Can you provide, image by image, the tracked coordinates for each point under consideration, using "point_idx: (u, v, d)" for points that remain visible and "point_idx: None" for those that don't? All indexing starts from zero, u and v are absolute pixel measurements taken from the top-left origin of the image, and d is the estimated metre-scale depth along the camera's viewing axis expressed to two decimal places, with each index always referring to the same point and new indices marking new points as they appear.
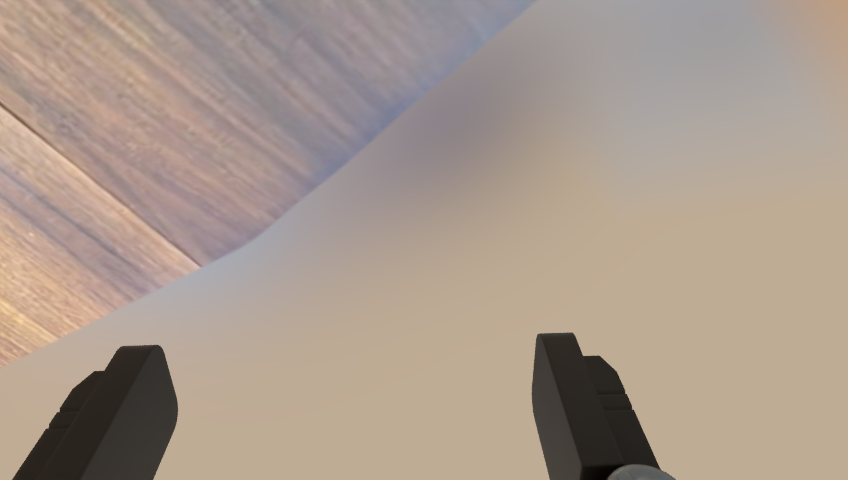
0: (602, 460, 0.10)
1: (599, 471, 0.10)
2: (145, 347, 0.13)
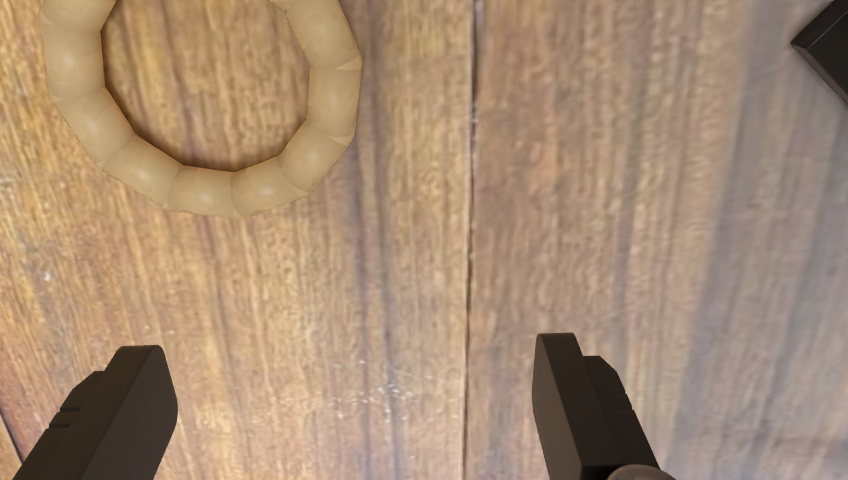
0: (602, 460, 0.10)
1: (599, 471, 0.10)
2: (145, 347, 0.13)
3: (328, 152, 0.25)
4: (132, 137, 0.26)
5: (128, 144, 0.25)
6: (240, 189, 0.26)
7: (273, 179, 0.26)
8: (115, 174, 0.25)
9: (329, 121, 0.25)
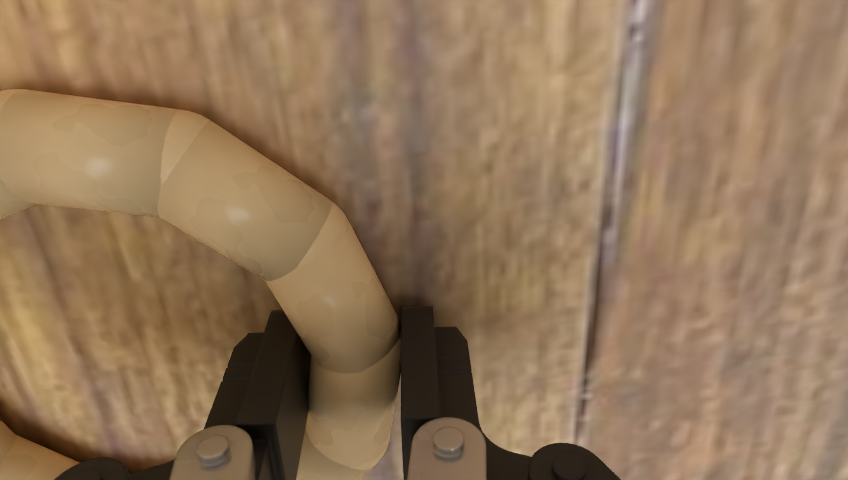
0: (421, 415, 0.11)
1: (418, 424, 0.11)
2: None
3: None
4: (4, 454, 0.15)
5: None
6: None
7: None
8: None
9: (347, 445, 0.14)
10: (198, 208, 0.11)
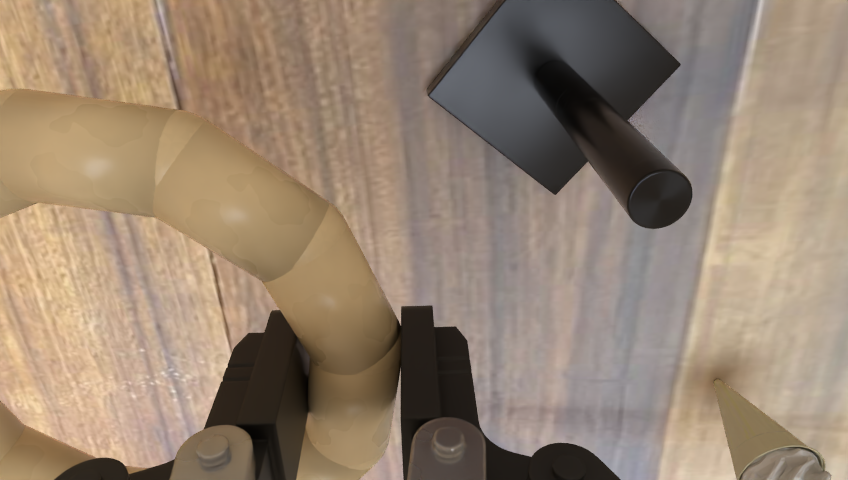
0: (421, 414, 0.11)
1: (418, 424, 0.11)
2: None
3: None
4: (12, 445, 0.15)
5: (3, 463, 0.15)
6: None
7: None
8: None
9: (345, 445, 0.14)
10: (193, 208, 0.11)
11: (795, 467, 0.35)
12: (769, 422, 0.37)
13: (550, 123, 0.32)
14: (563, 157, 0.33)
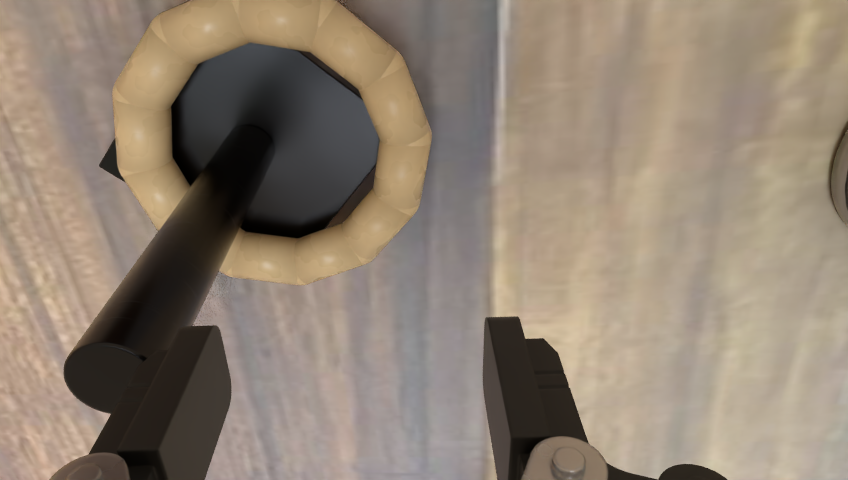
0: (531, 433, 0.10)
1: (528, 443, 0.10)
2: (205, 327, 0.13)
3: (395, 223, 0.25)
4: None
5: None
6: (305, 258, 0.26)
7: (338, 248, 0.26)
8: None
9: (398, 194, 0.25)
10: (334, 42, 0.22)
11: None
12: None
13: (258, 197, 0.27)
14: (283, 236, 0.28)
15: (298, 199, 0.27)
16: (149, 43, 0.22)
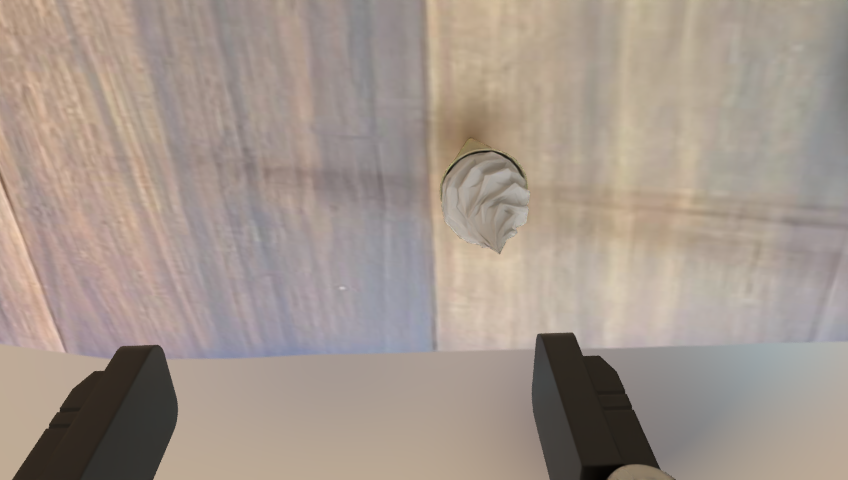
0: (602, 460, 0.10)
1: (599, 471, 0.10)
2: (145, 347, 0.13)
3: None
4: None
5: None
6: None
7: None
8: None
9: None
10: None
11: None
12: (484, 146, 0.37)
13: None
14: None
15: None
16: None
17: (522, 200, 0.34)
